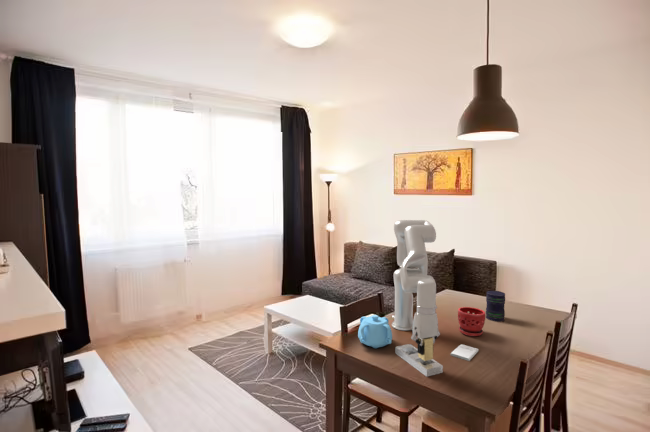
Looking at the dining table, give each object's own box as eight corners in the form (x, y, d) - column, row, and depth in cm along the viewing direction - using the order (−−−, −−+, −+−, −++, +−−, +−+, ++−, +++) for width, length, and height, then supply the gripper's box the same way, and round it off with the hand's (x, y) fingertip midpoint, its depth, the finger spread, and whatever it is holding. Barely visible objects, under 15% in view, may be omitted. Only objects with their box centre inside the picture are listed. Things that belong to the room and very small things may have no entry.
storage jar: (507, 321, 200) (508, 295, 199) (490, 321, 200) (491, 295, 199) (499, 315, 210) (500, 290, 209) (482, 315, 210) (483, 290, 209)
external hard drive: (450, 356, 160) (460, 346, 170) (469, 362, 155) (478, 352, 164) (450, 352, 160) (460, 343, 169) (469, 358, 155) (478, 348, 164)
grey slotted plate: (395, 353, 162) (395, 346, 162) (409, 350, 165) (410, 343, 165) (426, 376, 142) (426, 369, 142) (442, 372, 145) (442, 365, 145)
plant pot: (487, 339, 177) (488, 315, 176) (459, 336, 180) (460, 313, 179) (481, 328, 190) (482, 306, 189) (455, 327, 193) (456, 305, 192)
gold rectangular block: (418, 356, 150) (418, 335, 149) (426, 354, 151) (426, 334, 151) (424, 360, 146) (424, 339, 145) (432, 359, 148) (433, 337, 147)
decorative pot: (355, 349, 167) (356, 320, 166) (359, 335, 183) (359, 309, 182) (391, 352, 164) (391, 323, 163) (392, 337, 179) (392, 311, 178)
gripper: (436, 304, 154) (435, 345, 155) (403, 309, 147) (403, 352, 149) (448, 309, 147) (447, 352, 148) (414, 315, 141) (414, 360, 142)
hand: (425, 352), depth 149 cm, fingers closed on gold rectangular block, 4 cm apart
